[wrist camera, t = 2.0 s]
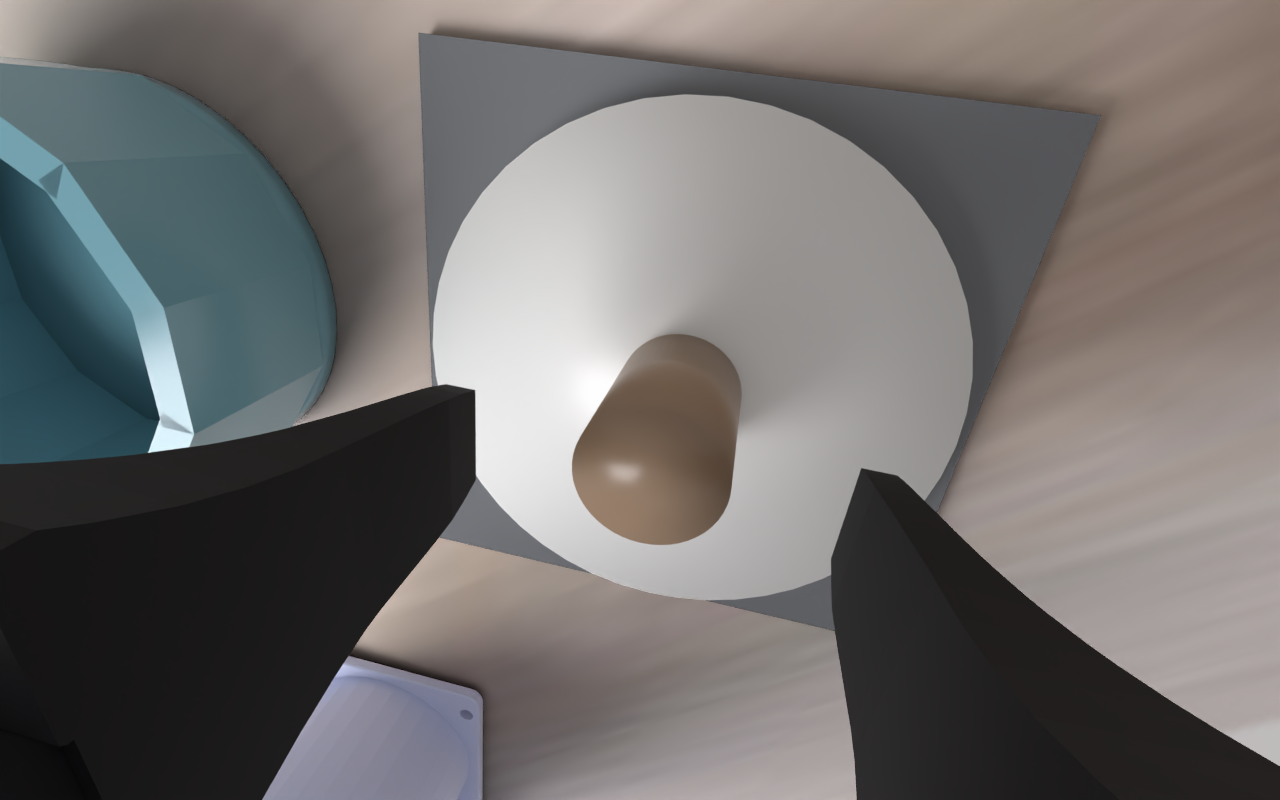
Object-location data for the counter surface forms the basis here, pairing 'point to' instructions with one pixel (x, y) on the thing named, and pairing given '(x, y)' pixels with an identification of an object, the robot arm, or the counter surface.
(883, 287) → the lid
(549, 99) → the mat
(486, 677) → the counter surface
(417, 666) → the counter surface
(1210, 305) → the counter surface
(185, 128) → the bowl
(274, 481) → the robot arm
